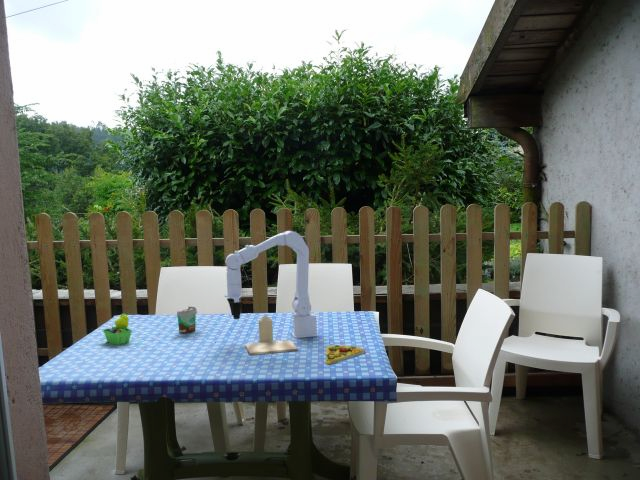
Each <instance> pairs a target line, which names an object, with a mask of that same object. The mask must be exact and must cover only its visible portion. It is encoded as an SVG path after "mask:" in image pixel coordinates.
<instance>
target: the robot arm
mask: <svg viewBox="0 0 640 480" xmlns="http://www.w3.org/2000/svg"><path fill="white" fill-rule="evenodd" d="M276 246H287V247H289V248H290V249H292V251H294V252H295V253H296V272H295V273H296V275H295V277H296V278H295V279H296V280H295V282H296V283H295V285H296V286H295V293H294V299H293V301H292V305H291V306H292V308H293V310H294V312H293V314H292V315H293V317H292V319H293V322H292V323H293V332H291V335H292V337H294V338H295V339H298V338H299V339H301V338H302V339H303V338H311V337H312V338H313V337H318V332H317V331H318V329H317V327H318V326H317V316H316V313H311V311H312V304H311V302H310V295H309V269H310V266H309V264H310V263H309V261H310V259H309V258H310V248H309V246H308V244H306V241H305V240H304V238H303V236H302V235H300V233H298V232H296V231H293V230H285V231H284V232H281V233H278V234H276V235H273V236H272V237H269V238H268V239H266V240H264V241H262V242H260V243H259V244H257V245H253V244H250V245H249V244H246V245H244V247H243V248H241V249H240V250H235V251H234V253H229V254H228V255H227V257H226V258H225V261H224V263H225V265H226V288H227V289H226V290H227V291H226V292H227V294H224V298H226V300H227V302H228V305H229V309H230V313H231V316H232V317H233V320H239V319H240V317H241V311H242V307H243V305H244V301H243V300H242V301H241V299H242V297H243V293H242V291H243V289H242V273H241V266H242V265H245V264H246V263H249V262H250V261H253V260H255V259H257V258H258V256H259V254H261V253H262V252H264V251H267V250H269V249H272V248H273V247H276Z"/></svg>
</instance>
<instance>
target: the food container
mask: <svg viewBox="0 0 640 480" xmlns="http://www.w3.org/2000/svg"><path fill="white" fill-rule="evenodd" d="M197 314H198V309H197V308H196V307H195V306H190V305H189V306H188V308H187V309H183V310H181V311H177V313H176V317H177V323H178V334H179V335H182V334H183V335H185V334H190V333H191V334H192V333H194V332H196V325H197V324H196V323H197V322H196V319H197Z"/></svg>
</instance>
